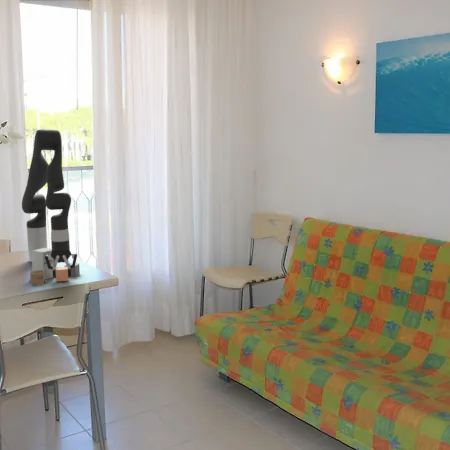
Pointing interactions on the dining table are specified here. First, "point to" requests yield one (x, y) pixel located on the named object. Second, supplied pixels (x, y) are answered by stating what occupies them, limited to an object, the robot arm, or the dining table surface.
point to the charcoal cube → (74, 270)
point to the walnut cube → (36, 277)
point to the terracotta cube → (61, 273)
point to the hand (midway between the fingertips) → (62, 277)
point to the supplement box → (42, 262)
